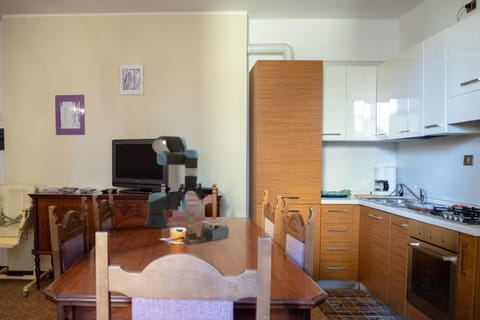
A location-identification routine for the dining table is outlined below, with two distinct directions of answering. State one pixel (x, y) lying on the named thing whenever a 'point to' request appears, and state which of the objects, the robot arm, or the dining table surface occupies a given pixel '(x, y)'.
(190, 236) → the stand
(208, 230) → the box
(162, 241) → the dining table surface
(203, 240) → the tray
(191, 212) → the stick
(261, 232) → the dining table surface
